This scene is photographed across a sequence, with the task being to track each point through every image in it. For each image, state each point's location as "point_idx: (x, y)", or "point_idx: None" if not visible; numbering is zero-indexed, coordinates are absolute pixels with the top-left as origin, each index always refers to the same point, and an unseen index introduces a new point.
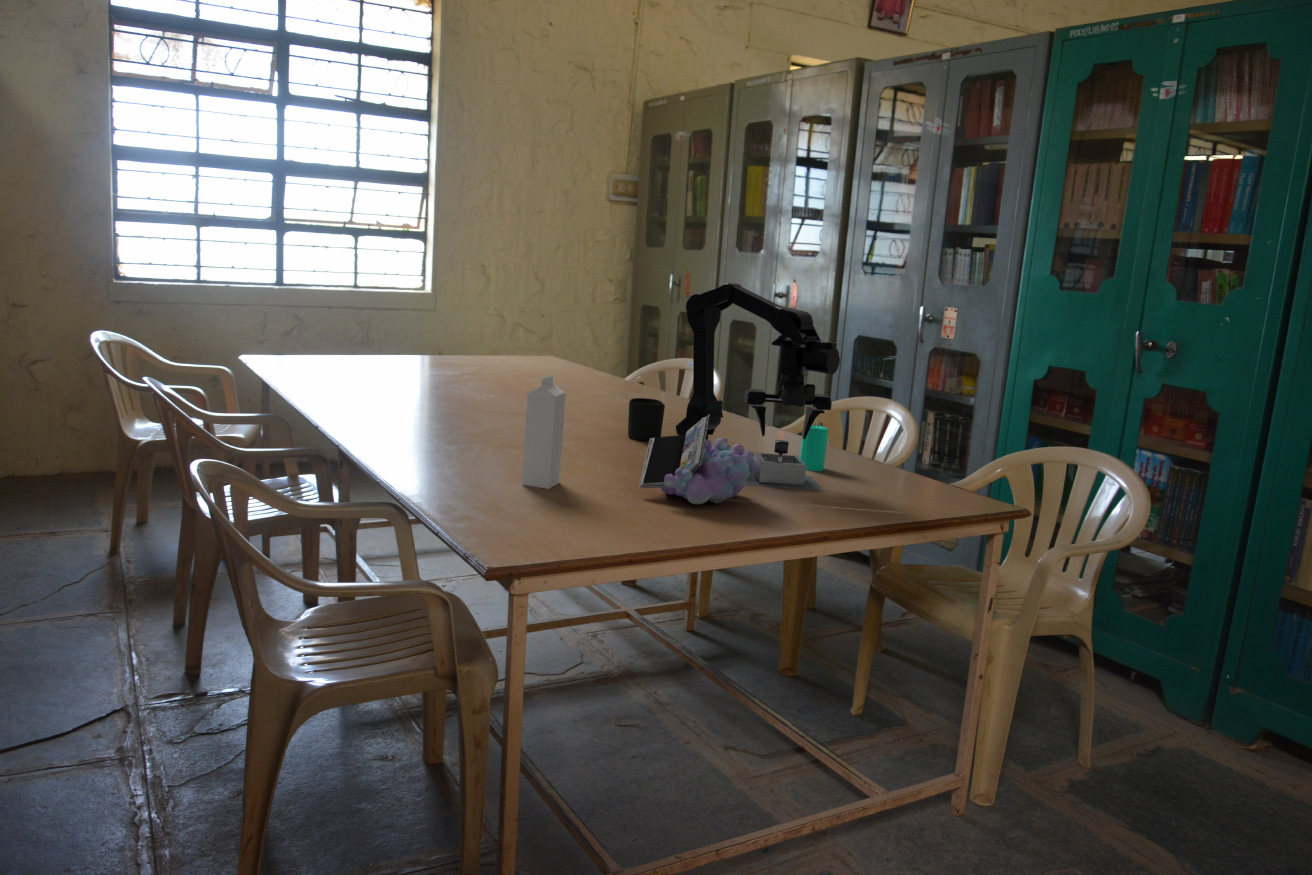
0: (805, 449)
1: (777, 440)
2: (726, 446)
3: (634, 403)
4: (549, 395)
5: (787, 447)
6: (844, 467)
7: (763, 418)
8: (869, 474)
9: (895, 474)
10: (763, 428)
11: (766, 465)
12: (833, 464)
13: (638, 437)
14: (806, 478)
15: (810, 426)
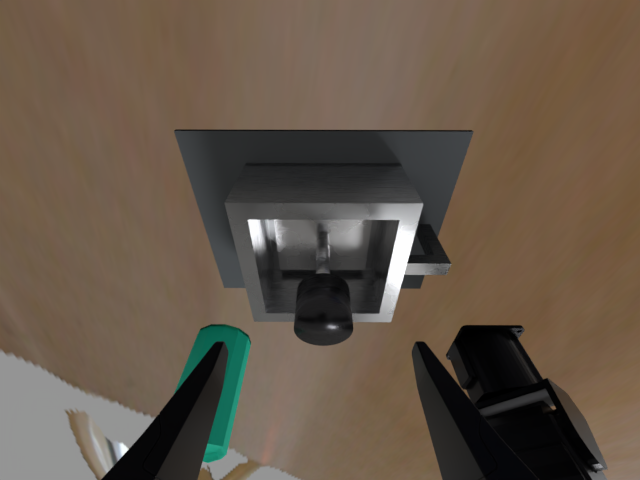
0: (230, 377)
1: (340, 338)
2: None
3: None
4: None
5: (300, 299)
6: (157, 361)
7: (479, 442)
8: (94, 333)
9: (43, 344)
10: (440, 376)
11: (397, 195)
12: (181, 371)
13: None
14: (235, 263)
15: (165, 409)
